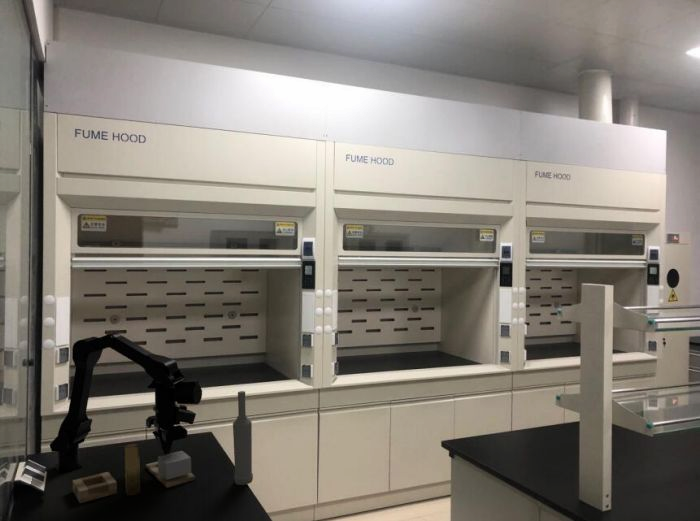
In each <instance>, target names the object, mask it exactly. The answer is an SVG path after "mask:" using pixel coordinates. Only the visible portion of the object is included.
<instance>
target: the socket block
mask: <svg viewBox="0 0 700 521" xmlns="http://www.w3.org/2000/svg"><path fill="white" fill-rule="evenodd" d="M117 486H118V485H117V481H116V479H115V478H114V477H113V475H111V473H110V472H109V471H105V472H100V473H98V474H93V475H89V476H86V477H85V476H84V477H81V478H77V479H72V492H73V494H74V496H75V498H76V499H77V500H78V503H79V504H83V503H87V502H90V501H93V500H98V499H100V498H103V497H107V496H108V497H109V496H111V495H115V494H117V493H118V490H117V489H118V488H117Z"/></svg>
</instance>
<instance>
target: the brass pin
mask: <svg viewBox="0 0 700 521" xmlns="http://www.w3.org/2000/svg"><path fill="white" fill-rule="evenodd" d="M140 459H141V458H140V444H138V443H130V444H127V445H125V446H124V472H125V495H126V496H130V497H131V496H136V495H138V494H140V493H141V471H140V470H141V467H140V466H141V465H140Z"/></svg>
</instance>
